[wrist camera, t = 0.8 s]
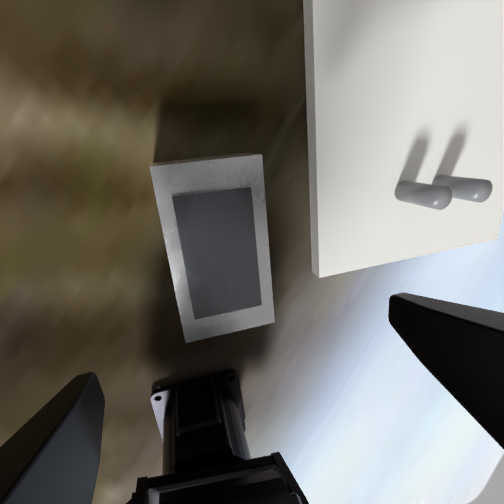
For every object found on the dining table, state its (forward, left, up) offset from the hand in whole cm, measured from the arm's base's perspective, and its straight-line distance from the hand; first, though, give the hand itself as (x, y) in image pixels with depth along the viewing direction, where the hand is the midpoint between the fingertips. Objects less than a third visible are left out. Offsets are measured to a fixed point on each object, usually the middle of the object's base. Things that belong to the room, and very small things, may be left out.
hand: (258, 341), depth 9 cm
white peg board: (+8, -15, -12) cm, 21 cm away
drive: (0, 0, -12) cm, 12 cm away
